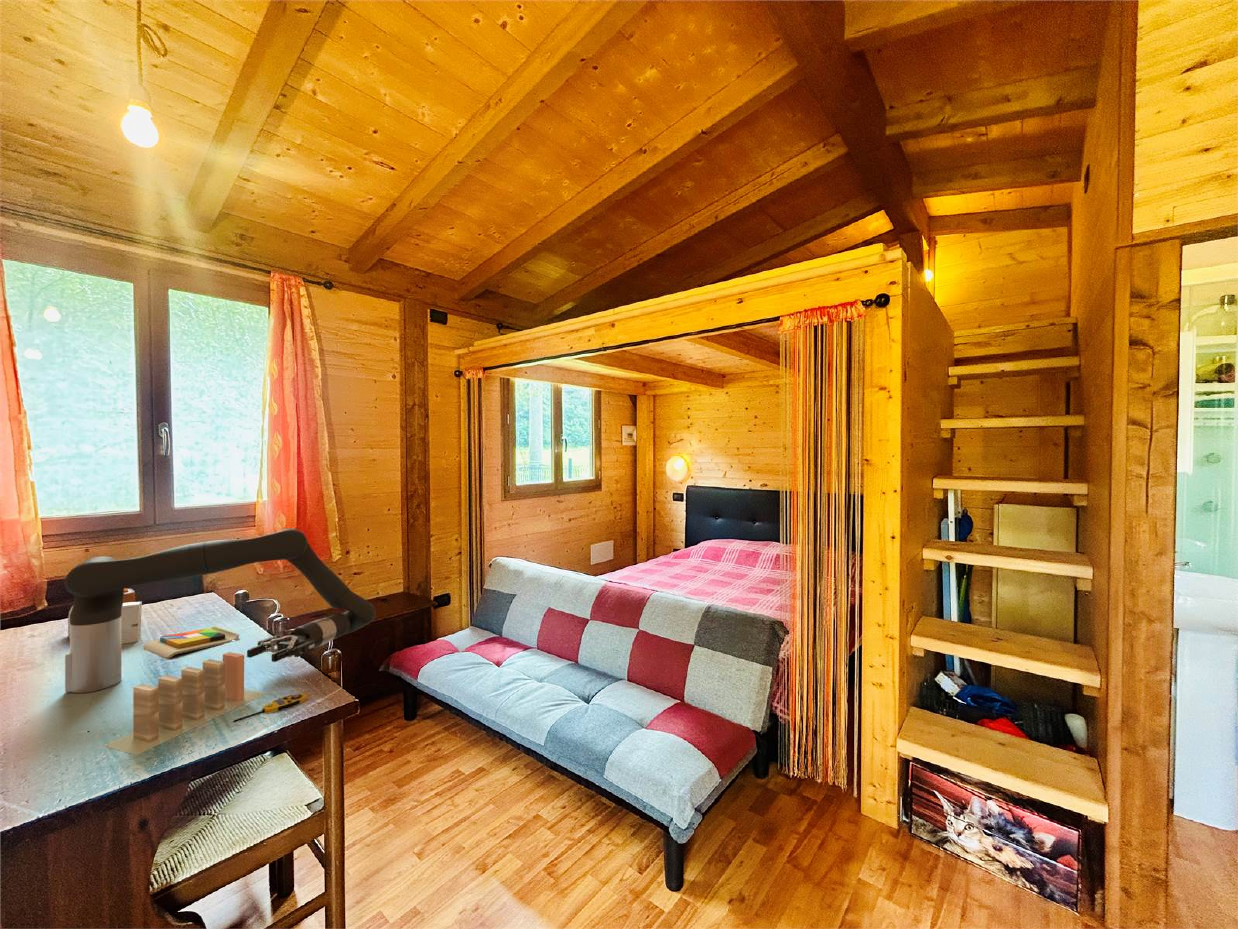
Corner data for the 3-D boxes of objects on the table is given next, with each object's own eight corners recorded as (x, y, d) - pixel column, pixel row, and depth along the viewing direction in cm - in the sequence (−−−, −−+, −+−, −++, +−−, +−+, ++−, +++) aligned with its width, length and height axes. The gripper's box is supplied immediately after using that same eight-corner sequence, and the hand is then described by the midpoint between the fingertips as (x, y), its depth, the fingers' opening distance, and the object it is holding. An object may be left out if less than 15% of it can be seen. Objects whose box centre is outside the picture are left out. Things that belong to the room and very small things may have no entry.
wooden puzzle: (240, 640, 162) (240, 629, 162) (167, 661, 145) (167, 649, 145) (213, 631, 170) (213, 621, 170) (141, 650, 153) (141, 638, 153)
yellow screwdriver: (310, 695, 122) (236, 720, 110) (310, 703, 122) (236, 729, 110) (302, 689, 125) (229, 713, 113) (302, 697, 125) (229, 721, 113)
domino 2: (174, 731, 108) (174, 681, 108) (158, 727, 109) (158, 678, 109) (182, 727, 109) (182, 678, 109) (166, 723, 111) (166, 675, 110)
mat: (136, 757, 99) (136, 755, 99) (103, 748, 102) (103, 746, 102) (265, 695, 125) (265, 693, 125) (236, 689, 128) (236, 687, 128)
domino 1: (149, 742, 103) (149, 690, 103) (133, 738, 105) (133, 687, 105) (158, 738, 105) (158, 687, 105) (142, 734, 106) (142, 684, 106)
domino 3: (196, 720, 112) (197, 672, 112) (181, 717, 113) (181, 669, 113) (204, 717, 114) (204, 669, 113) (188, 713, 115) (189, 666, 115)
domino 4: (217, 710, 116) (217, 664, 116) (202, 707, 118) (202, 662, 118) (224, 707, 118) (225, 662, 118) (209, 704, 119) (209, 659, 119)
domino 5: (237, 701, 121) (237, 657, 121) (222, 698, 122) (222, 654, 122) (244, 698, 122) (244, 654, 122) (229, 695, 124) (229, 652, 124)
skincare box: (111, 645, 154) (111, 607, 154) (115, 641, 158) (115, 603, 158) (138, 641, 158) (138, 604, 158) (142, 637, 162) (142, 600, 161)
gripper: (295, 619, 146) (239, 638, 130) (333, 624, 142) (281, 645, 126) (295, 644, 146) (239, 666, 131) (333, 650, 142) (281, 674, 127)
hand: (260, 656), depth 129 cm, fingers open, 8 cm apart
